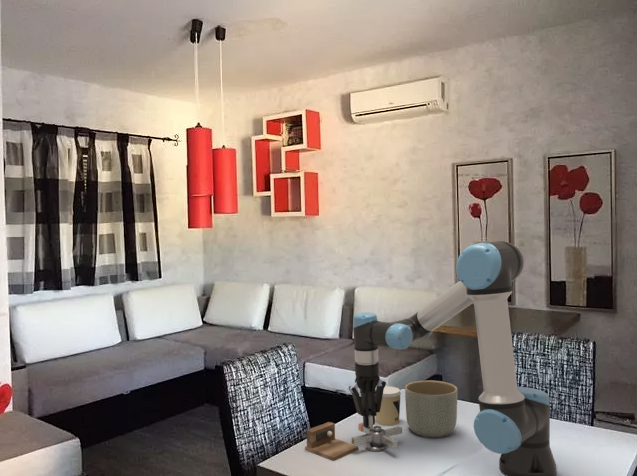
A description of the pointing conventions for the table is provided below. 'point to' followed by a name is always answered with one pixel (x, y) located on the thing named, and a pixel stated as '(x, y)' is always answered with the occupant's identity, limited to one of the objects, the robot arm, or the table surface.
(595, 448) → the table surface
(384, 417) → the coffee cup
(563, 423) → the table surface
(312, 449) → the stand
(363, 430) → the silver cross-shaped piece
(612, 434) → the table surface
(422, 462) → the table surface
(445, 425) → the planter
